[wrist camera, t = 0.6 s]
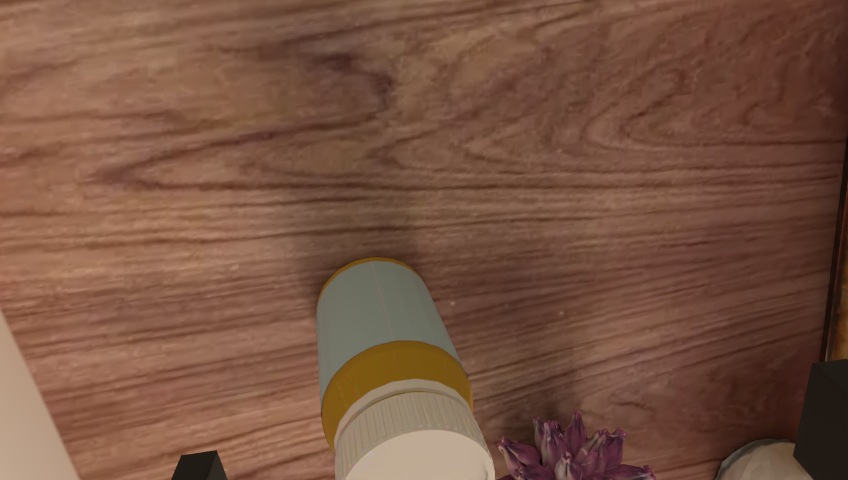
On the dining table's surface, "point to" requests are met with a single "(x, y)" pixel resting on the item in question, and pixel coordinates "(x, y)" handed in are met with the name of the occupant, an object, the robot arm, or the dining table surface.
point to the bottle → (393, 380)
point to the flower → (570, 455)
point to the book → (838, 285)
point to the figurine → (763, 462)
